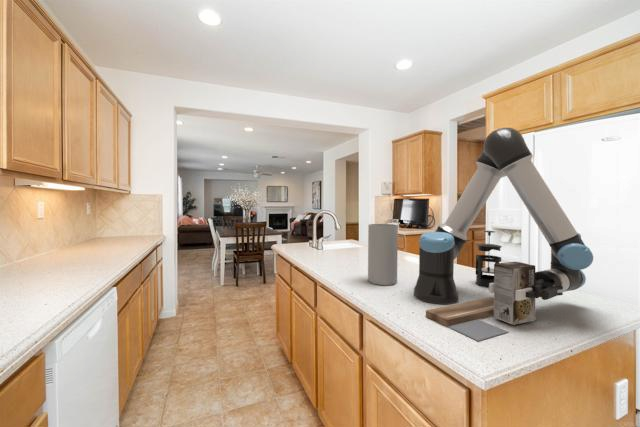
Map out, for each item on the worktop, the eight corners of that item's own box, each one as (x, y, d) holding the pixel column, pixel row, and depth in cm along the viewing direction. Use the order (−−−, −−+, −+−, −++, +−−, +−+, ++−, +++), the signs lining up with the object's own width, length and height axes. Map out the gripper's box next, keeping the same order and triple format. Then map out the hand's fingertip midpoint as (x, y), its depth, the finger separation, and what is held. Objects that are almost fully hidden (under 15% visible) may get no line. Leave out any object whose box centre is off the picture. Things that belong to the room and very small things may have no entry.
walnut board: (425, 316, 87) (425, 309, 87) (490, 302, 100) (490, 296, 100) (447, 327, 80) (447, 319, 80) (514, 310, 93) (514, 304, 93)
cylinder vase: (387, 277, 134) (387, 223, 133) (402, 284, 122) (403, 225, 121) (362, 279, 130) (363, 224, 129) (377, 287, 118) (377, 226, 117)
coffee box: (514, 313, 89) (515, 261, 88) (536, 321, 83) (536, 265, 82) (492, 317, 86) (492, 263, 85) (513, 325, 80) (513, 267, 79)
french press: (508, 288, 117) (509, 231, 117) (488, 289, 115) (489, 232, 115) (486, 280, 129) (487, 229, 128) (467, 281, 127) (468, 229, 126)
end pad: (448, 327, 80) (448, 326, 80) (477, 320, 85) (477, 319, 85) (478, 341, 72) (478, 340, 72) (508, 332, 77) (508, 331, 77)
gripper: (587, 303, 83) (541, 317, 73) (515, 285, 101) (471, 294, 91) (588, 278, 83) (542, 288, 73) (516, 264, 100) (471, 271, 90)
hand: (503, 291), depth 82 cm, fingers closed on coffee box, 7 cm apart
